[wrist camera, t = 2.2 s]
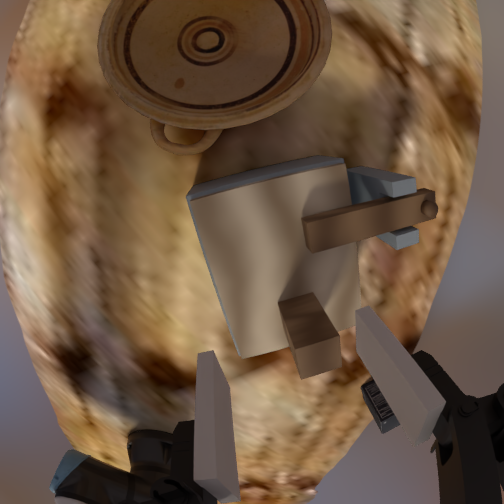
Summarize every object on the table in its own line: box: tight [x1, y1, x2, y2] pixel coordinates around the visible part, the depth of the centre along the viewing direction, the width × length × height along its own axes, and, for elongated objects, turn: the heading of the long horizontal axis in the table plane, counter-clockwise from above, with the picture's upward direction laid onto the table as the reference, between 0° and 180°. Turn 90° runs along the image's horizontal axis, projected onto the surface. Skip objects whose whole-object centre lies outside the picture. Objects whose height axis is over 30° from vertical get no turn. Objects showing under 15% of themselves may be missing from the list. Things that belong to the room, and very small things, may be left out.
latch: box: [301, 188, 438, 254], centre depth 26 cm, size 15×3×3 cm, turn 103°
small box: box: [361, 380, 400, 434], centre depth 47 cm, size 11×6×10 cm, turn 113°
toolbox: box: [186, 155, 419, 356], centre depth 32 cm, size 22×20×12 cm
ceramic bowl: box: [97, 0, 332, 155], centre depth 24 cm, size 30×24×8 cm
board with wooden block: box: [190, 163, 361, 380], centre depth 26 cm, size 15×19×9 cm
